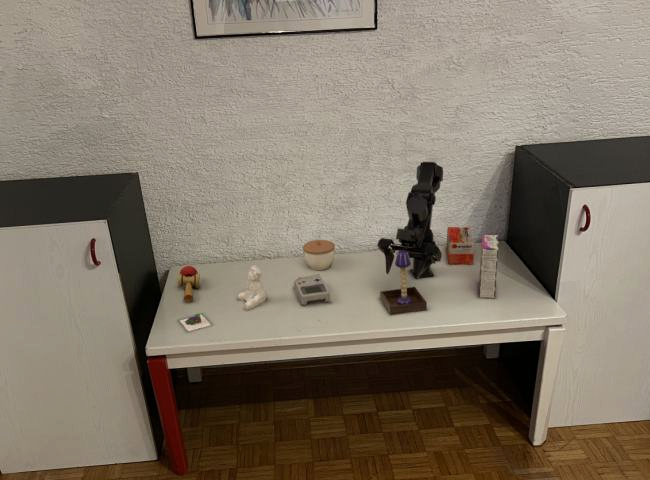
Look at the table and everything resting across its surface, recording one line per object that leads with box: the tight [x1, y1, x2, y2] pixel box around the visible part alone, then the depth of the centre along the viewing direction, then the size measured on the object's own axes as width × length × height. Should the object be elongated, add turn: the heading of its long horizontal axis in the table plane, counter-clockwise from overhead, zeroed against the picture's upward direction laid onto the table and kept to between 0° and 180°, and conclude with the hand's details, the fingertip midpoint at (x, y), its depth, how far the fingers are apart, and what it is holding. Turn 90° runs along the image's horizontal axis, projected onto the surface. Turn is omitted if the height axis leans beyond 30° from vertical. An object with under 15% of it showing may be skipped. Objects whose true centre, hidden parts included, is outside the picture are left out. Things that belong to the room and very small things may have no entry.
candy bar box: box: [478, 234, 499, 299], centre depth 211 cm, size 11×5×16 cm, turn 168°
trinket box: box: [302, 239, 336, 271], centre depth 236 cm, size 11×11×9 cm
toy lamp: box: [394, 250, 412, 305], centre depth 206 cm, size 5×5×17 cm
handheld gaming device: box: [293, 273, 331, 306], centre depth 218 cm, size 9×15×4 cm, turn 12°
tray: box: [379, 286, 428, 316], centre depth 210 cm, size 11×11×3 cm
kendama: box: [177, 265, 201, 303], centre depth 225 cm, size 8×6×18 cm
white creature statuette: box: [238, 264, 268, 310], centre depth 214 cm, size 10×9×12 cm
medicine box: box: [446, 226, 475, 265], centre depth 238 cm, size 15×8×8 cm, turn 174°
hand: (401, 276), depth 204 cm, fingers open, 9 cm apart
